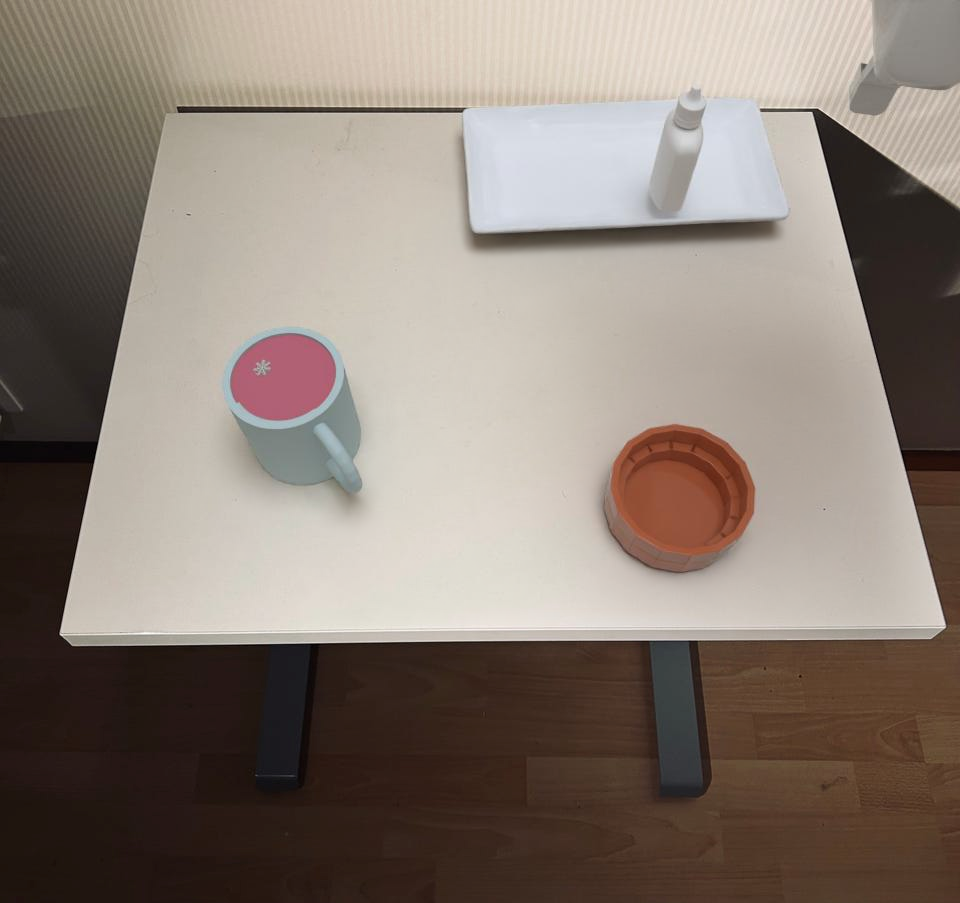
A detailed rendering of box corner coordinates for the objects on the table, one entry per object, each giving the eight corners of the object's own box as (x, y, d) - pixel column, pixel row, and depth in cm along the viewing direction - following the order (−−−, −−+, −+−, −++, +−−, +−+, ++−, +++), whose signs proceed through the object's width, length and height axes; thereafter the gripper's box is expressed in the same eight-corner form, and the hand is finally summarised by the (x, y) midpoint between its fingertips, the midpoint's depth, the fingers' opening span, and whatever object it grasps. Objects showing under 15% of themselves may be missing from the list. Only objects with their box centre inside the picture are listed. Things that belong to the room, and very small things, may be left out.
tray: (782, 240, 80) (795, 215, 77) (469, 254, 79) (469, 229, 76) (747, 121, 88) (757, 94, 84) (461, 132, 87) (460, 106, 84)
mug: (235, 428, 70) (200, 366, 61) (324, 374, 73) (303, 307, 64) (318, 546, 65) (293, 497, 56) (411, 483, 68) (401, 427, 59)
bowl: (741, 462, 69) (757, 438, 65) (734, 585, 64) (751, 567, 60) (612, 439, 70) (620, 414, 66) (595, 559, 65) (602, 539, 61)
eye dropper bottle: (698, 181, 79) (733, 75, 68) (676, 219, 77) (708, 116, 66) (657, 165, 80) (685, 59, 69) (634, 202, 78) (659, 98, 67)
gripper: (1149, -119, 26) (932, 194, 38) (1068, -378, 35) (914, -57, 47) (950, -141, 27) (799, 175, 39) (920, -391, 36) (806, -70, 48)
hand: (862, 45), depth 43 cm, fingers open, 8 cm apart
